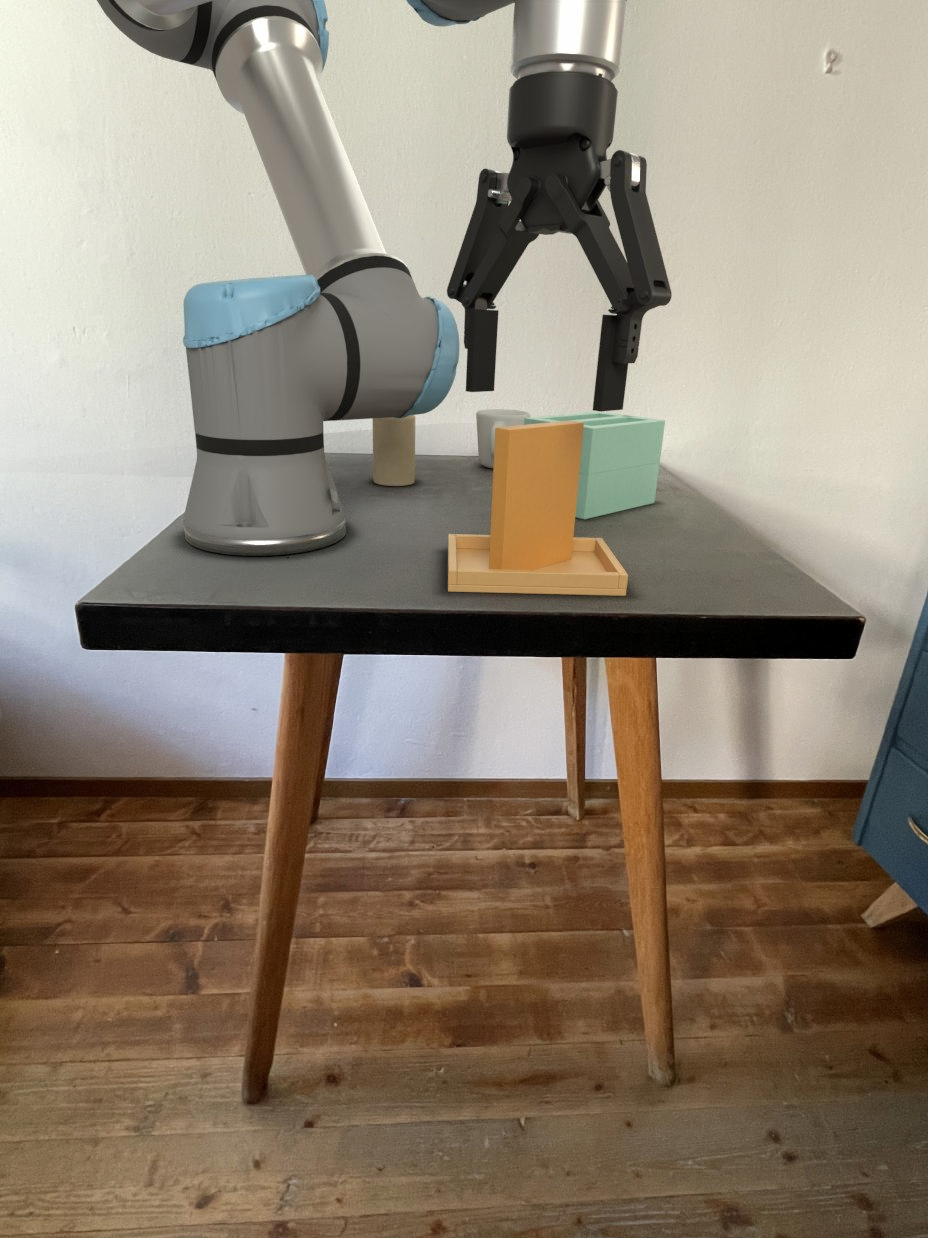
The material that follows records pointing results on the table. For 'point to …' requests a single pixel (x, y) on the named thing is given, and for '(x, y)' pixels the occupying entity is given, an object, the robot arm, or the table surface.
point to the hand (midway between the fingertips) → (538, 400)
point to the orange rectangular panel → (534, 494)
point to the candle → (394, 451)
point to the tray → (535, 570)
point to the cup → (486, 430)
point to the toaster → (614, 461)
